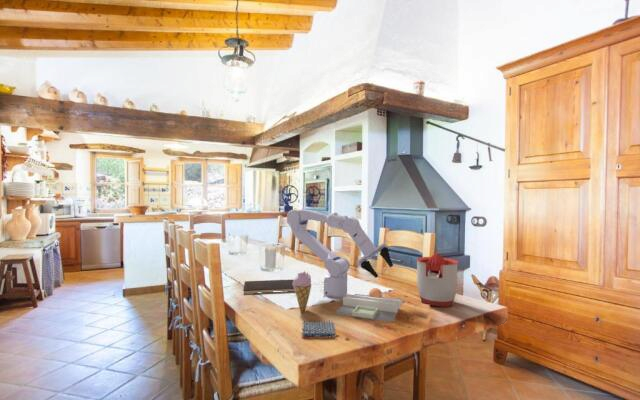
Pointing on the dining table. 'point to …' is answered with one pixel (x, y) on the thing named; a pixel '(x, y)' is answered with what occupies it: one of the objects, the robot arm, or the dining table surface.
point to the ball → (375, 293)
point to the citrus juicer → (437, 280)
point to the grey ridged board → (384, 305)
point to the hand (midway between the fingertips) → (384, 271)
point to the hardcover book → (268, 286)
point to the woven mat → (318, 330)
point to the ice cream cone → (302, 289)
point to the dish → (365, 312)
